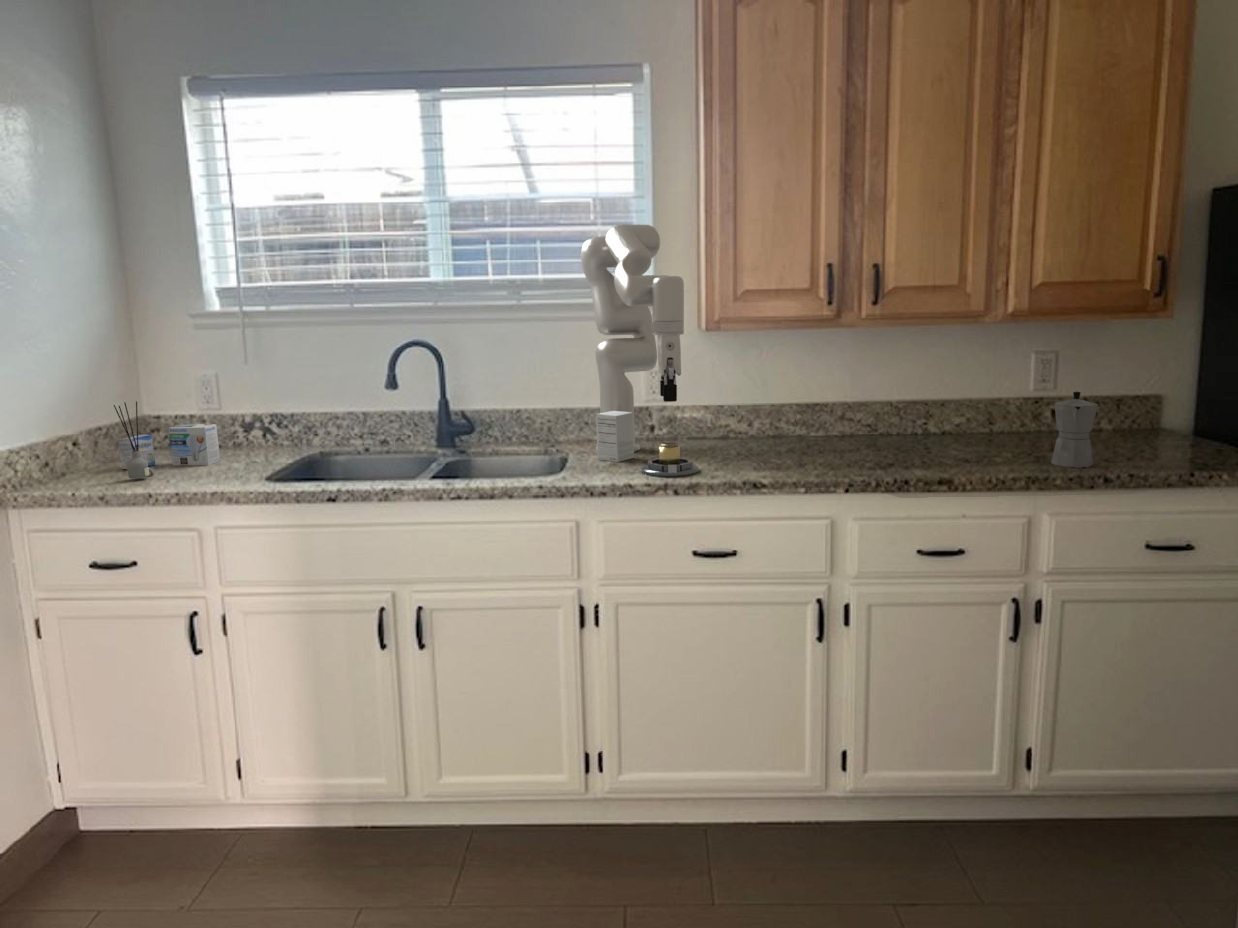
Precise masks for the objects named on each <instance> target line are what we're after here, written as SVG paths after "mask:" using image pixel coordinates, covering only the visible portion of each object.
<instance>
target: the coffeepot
mask: <svg viewBox="0 0 1238 928" xmlns="http://www.w3.org/2000/svg"><path fill="white" fill-rule="evenodd" d="M1072 394H1073V398H1071V399H1067V400H1063V401H1058V402H1055V403H1054V411H1055V412H1054V413H1055V422H1056V423H1055V424H1056V430H1057V431H1058V437H1057V438H1056V441H1055V446H1054V449H1053V453H1052V457H1051V460H1050V463H1051V464H1052V465H1053V464H1054V466H1056V467H1061V466H1062V467H1061V468H1069V467H1073V468H1074V467H1075V468H1074V469H1081V468H1082V467H1086V468H1090V466H1091V467H1092V466H1093V465H1094V461H1093V459H1094V458H1093V450H1092V442H1091V439H1090V432H1092V431H1093V427H1094V423H1095V418H1096V416H1097V415H1096V414H1097V410H1098V407H1099V404H1098V403H1094V402H1090V401H1088V400H1083V399H1080V397H1081V394H1082V393H1081V392H1080V391H1073V392H1072ZM1073 468H1072V469H1073ZM1082 469H1083V468H1082Z"/></svg>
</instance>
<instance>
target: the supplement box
mask: <svg viewBox="0 0 1238 928" xmlns="http://www.w3.org/2000/svg"><path fill="white" fill-rule="evenodd" d="M595 414H596V415H595V417H596V421H595V422H596V446H597V450H596V452H597V460H598V461H604V460H605V461H604V462H612V461H613V462H614V463H620V462H623V461H627V460H630V459H634V458H635V452H634V442H635V430H634V431H633V413H632V412H622V411H610V412H604V413H595Z"/></svg>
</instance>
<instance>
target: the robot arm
mask: <svg viewBox="0 0 1238 928" xmlns="http://www.w3.org/2000/svg"><path fill="white" fill-rule="evenodd" d="M660 246H661V239H660V234H659V232H658V230H657V229H656V228H655V227H654V226H652V225H650V224H623V223H622V224H618V225H617V224H616V225H614V226H612V227H611V228H610V229H608V231H607V232H606V234H605V236H594V237H591V238H588V239H586V240H585V241H584V242H583V244H582V247H581V252H580V259H581V260H580V261H581V267H582V270H583V274H584V276H585V278H586V279H585V280H587V283H588V285H589V288H590V292H591V298H592V299H591V300H592V305H593V313H594V319H595V325H596V329H597V330H598V332H599V334H602V335H603V336H633V337H622V338H621V337H619V338H618V337H617V338H615V337H614V338H608V339H603V340H601V341H600V342H599V343H598V344H597V346H596V348H595V354H594V355H595V361H596V366H597V371H598V381H599V382H598V383H599V402H600V403H599V407H600V411H599V412H600V413H604V412H610V411H622V412H632V413H633V431H634V432H635V409H634V408H635V406H634V405H635V403H634V401H635V397H634V388H633V387H634V386H633V384H632V382H631V381H630V379H628V377H627V376H626V374H625V373H634V372H635V373H638V372H648V371H651V370H653V369H654V368H655V367H656V365H657V364H658V371H659V374H660V381H659V382H660V384H659V385H660V386H659V391H660V392H659V394H660V396H661V397H663V399H662V400H663V402H666V403H667V402H668V403H669V402H671V403H672V402H673V403H674V402H677V401H678V397H677V396H678V391H677V390H678V385H677V376H678V377H680V376H681V375H682V361H681V359H682V355H681V354H682V353H681V350H682V349H681V336H680V335H684V334H685V332H684V331H685V328H684V327H685V326H684V325H685V321H684V320H685V318H684V317H685V316H684V315H685V308H684V307H685V298H684V297H685V292H684V291H685V282H684V279H683V278H682V277H681V276H677V275H660V274H658V275H657V274H655V275H654V274H653V275H651V274H650V275H649V274H647V275H646V274H645V273H646V272H647V271H648V270H649V269H650V267H651V266H652V261H653V260H652V259H653V258H655V256H656V255H657V254H658V253H659V250H660ZM608 268H615V270H614V274H612V272H611V271H609V270H608ZM644 274H645V275H644ZM650 307H652V313H651V310H650ZM655 336H657V341H656V337H655ZM676 375H677V376H676ZM595 450H596V451H597V445H596V446H595ZM639 450H641V445H640V444H638V443H635V441H634V453H635V452H638V451H639Z"/></svg>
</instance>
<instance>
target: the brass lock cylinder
mask: <svg viewBox="0 0 1238 928" xmlns="http://www.w3.org/2000/svg"><path fill="white" fill-rule="evenodd" d="M658 458H659V464H661V465H678V464H680V458H681V446H680V445H679V443H678V442H676V441H663V442H661V443H660V444H659V445H658Z"/></svg>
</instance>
